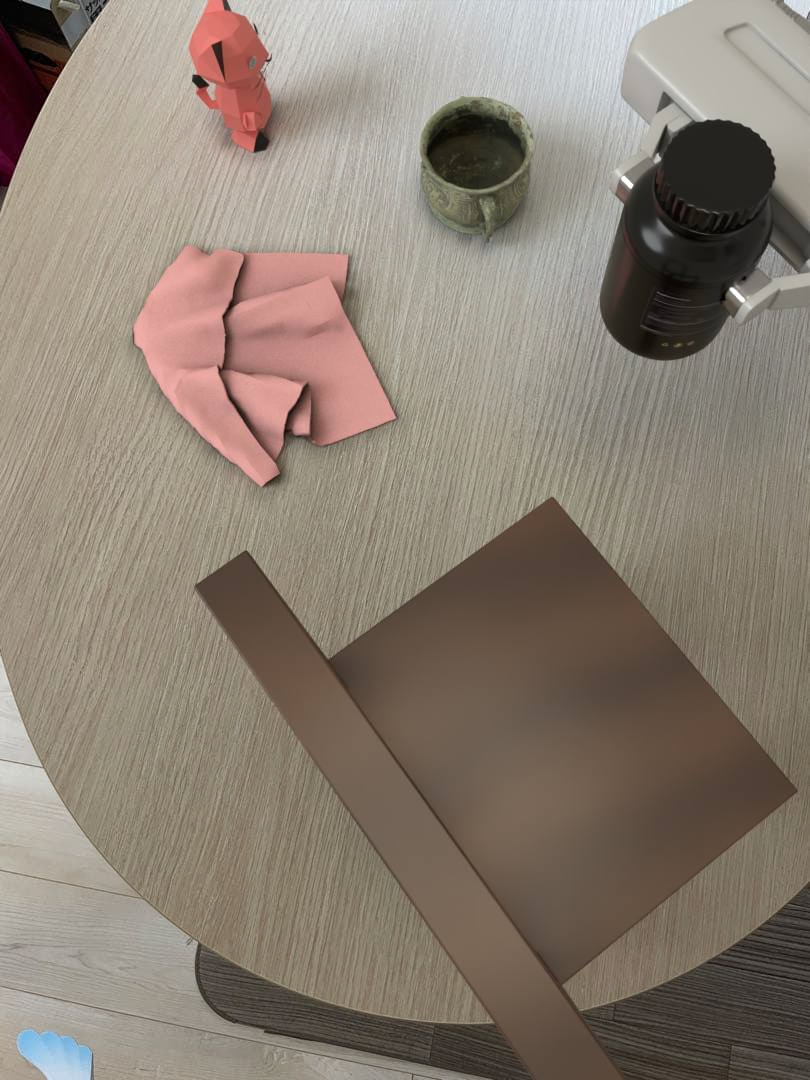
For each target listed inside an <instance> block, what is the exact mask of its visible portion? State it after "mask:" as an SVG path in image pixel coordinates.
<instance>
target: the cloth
mask: <svg viewBox="0 0 810 1080" xmlns="http://www.w3.org/2000/svg"><path fill="white" fill-rule="evenodd" d="M348 264H349V254H339V253H323V252H322V253H319V252H282V251H281V252H238V251H235V250H231V249H226V248H216V250H214V251H213V252H212V253H211V254H208V253H204V252H202V251H201V250H200V249H199V248H197V247H196V246H195V245H185V246H184V248H183V249H182V250H181V252H179V254H178V256H177V258H176V259H175V261H174V262H173V263H171V264H170V265H169V266H167V268H166V270H165V271H164V272H163V273H162V276H161V277H160V279H159V280H158V282H157V283H156V285H155V286H154V287H153V289H152V290H150V292H149V294H148V296H147V298H146V301H145V304H144V306H143V307H142V309H141V310H140V312H139V314H138V316H137V318H136V320H135V322H134V324H133V325H132V328H131V331H132V344H133V346H135V347H137V348H139V349H141V351H142V353H143V356H144V358H145V360H146V363H147V366H148V368H149V371H150V373H151V374H152V376H153V378H154V379H155V381H156V382H157V383H158V384H159V388H160V389H161V392H162V394H163V395H164V396H165V398H167V400H168V401H169V402H170V403H171V405H172V406H173V407H174V409H175V410H176V412H177V413H178V414H179V415H180V416H181V417H182V419H184V421H186V422H188V423H189V424H190V426H191V427H192V428H193V429H194V430H195V432H196V433H197V434H198V435H199V436H200V437H201V438H202V439H203V440H204V441H205V442H206V443H209V444H210V445H212V446H213V448H214V449H215V450H216V451H217V452H218V453H219V454H220V455H221V456H222V457H223V458H225V459H226V460H227V461H228V462H229V463H231V464H233V465H235V466H237V467H238V468H240V469H241V470H242V471H243V472H244V473H245V474H246V475H247V476H248V477H249V478H250V479H251V480H253V481H254V482H255V483H256V484H257V485H258V486H259V487H260V488H262V487H263V486H264V485H265V484H267V483H268V482H269V481H271V480H272V479H273V478H275V477H277V476H278V475H280V474H281V472H280V470H279V468H278V466H277V464H276V463H277V460H278V458H279V456H280V454H281V452H282V451H283V447H284V445H285V431H291V432H292V434H293V435H294V436H295V437H297V436H301V437H303V439H305V440H306V441H307V442H309V443H312V444H313V445H316V446H318V447H324V446H329V445H332V444H334V443H337V442H340V441H343V440H346V439H348V438H350V437H353V436H356V435H359V434H361V433H363V432H366V431H369V430H372V429H374V428H377V427H380V426H381V425H384V424H386V423H389V422H392V421H394V420H397V417H396V415H395V413H394V410H393V408H392V406H391V403H390V402H389V399H388V397H387V395H386V393H385V391H384V389H383V387H382V385H381V383H380V381H379V379H378V377H377V374H376V372H375V370H374V368H373V366H372V364H371V362H370V359H369V358H368V356H367V354H366V352H365V350H364V347H363V345H362V343H361V340H359V337H358V336H357V333H356V332H355V330H354V328H353V326H352V324H351V322H350V320H349V319H348V317H347V314H346V313H345V310H344V307H343V299H344V295H345V290H346V284H347V283H346V282H347V275H348V266H349V265H348Z"/></svg>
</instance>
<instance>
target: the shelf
mask: <svg viewBox="0 0 810 1080" xmlns="http://www.w3.org/2000/svg"><path fill="white" fill-rule="evenodd" d="M193 588H194V590H195V592H196V594H197V595H198V596H199V597H200V599H201V601H202V602H203V604H204V605H205V606H206V608H207V609H208V611H209V612H210V614H211V615H212V617H213V618H214V619H215V621H216V622H217V624H218V625H219V627H220V628H221V630H222V631H223V632H224V634H225V635H226V637H227V639H228V640H229V641H230V642H231V644H232V645H233V647H234V648H235V650H236V651H237V653H238V654H239V656H240V657H241V659H242V660H243V661H244V663H245V664H246V666H247V667H248V669H249V670H250V671H251V673H252V675H253V676H254V677H255V679H256V680H257V682H258V683H259V685H260V686H261V687H262V689H263V690H264V692H265V693H266V695H267V696H268V698H269V699H270V701H271V702H272V703H273V705H274V707H276V710H278V712H279V714H280V716H282V718H283V719H284V721H285V722H286V724H287V725H288V727H289V728H290V730H291V731H292V733H293V734H294V735H295V737H296V739H298V741H299V743H300V744H301V745H302V747H303V749H305V751H306V752H307V753H306V754H308V756H309V757H310V758H311V760H312V762H313V763H314V764H315V766H316V767H317V768H318V770H319V772H320V773H321V774H322V776H323V778H324V779H325V780H326V781H327V784H328V785H329V787H331V789H332V791H333V792H334V793H335V795H336V796H337V798H338V799H339V801H340V802H341V803H342V805H343V806H344V808H345V809H346V810H347V812H348V814H349V815H350V816H351V818H352V819H353V821H354V822H355V824H356V825H357V827H358V828H359V829H360V830H361V832H362V834H363V835H364V837H365V838H366V840H367V841H368V842H369V844H370V845H371V847H372V848H373V849H374V851H375V852H376V854H377V855H378V857H379V858H380V860H381V861H382V863H383V864H384V866H385V867H386V868H387V870H388V872H389V873H390V874H391V876H392V877H393V879H394V880H395V882H396V883H397V885H398V886H399V888H400V889H401V890H402V892H403V893H404V895H405V896H406V897H407V899H408V900H409V901H410V903H411V905H412V906H413V908H414V909H415V911H416V912H417V913H418V915H419V916H420V918H421V920H422V921H423V922H424V923H425V925H426V927H427V928H428V930H429V931H430V932H431V933H432V935H433V936H434V938H435V940H436V941H437V942H438V944H439V945H440V947H441V948H442V949H443V951H444V953H445V954H446V955H447V957H448V958H449V959H450V962H452V964H453V966H454V967H455V969H456V970H457V971H458V973H459V974H460V975H461V977H462V979H463V980H464V982H465V983H466V984H467V986H468V987H469V989H470V990H471V991H472V993H473V995H474V996H475V997H476V999H477V1000H478V1002H479V1003H480V1004H481V1006H482V1008H483V1009H484V1010H485V1012H486V1014H487V1015H488V1016H489V1018H490V1019H491V1021H492V1022H493V1024H494V1025H495V1026H496V1028H497V1029H498V1030H499V1032H500V1034H501V1035H502V1036H503V1038H504V1039H505V1041H506V1042H507V1044H508V1045H509V1046H510V1048H511V1050H512V1051H513V1052H514V1054H515V1055H516V1057H517V1058H518V1060H519V1061H520V1063H521V1064H522V1065H523V1067H524V1069H525V1070H526V1072H528V1074H529V1076H530V1077H531V1079H532V1080H629V1079H628V1078H627V1076H626V1075H625V1073H624V1072H623V1071H622V1069H621V1068H620V1066H619V1065H618V1063H617V1062H616V1061H615V1059H614V1058H613V1056H612V1055H611V1053H610V1052H609V1050H608V1049H607V1047H606V1046H605V1045H604V1043H603V1042H602V1040H601V1039H600V1037H599V1036H598V1035H597V1034H596V1032H595V1030H594V1029H593V1027H592V1026H591V1025H590V1023H589V1022H588V1020H587V1019H586V1018H585V1016H584V1015H583V1013H582V1012H581V1010H580V1009H579V1007H578V1006H577V1005H576V1003H575V1001H574V1000H573V999H572V997H571V996H570V994H568V991H567V990H566V989H565V988H564V986H563V985H564V984H566V983H567V982H568V981H570V979H572V978H573V977H574V976H575V975H577V974H578V973H580V971H582V969H583V968H585V967H587V966H588V965H589V964H590V963H592V962H593V961H594V960H595V959H596V958H598V957H599V956H600V955H601V954H602V953H603V952H605V951H606V950H607V949H608V948H609V947H611V946H612V945H613V944H614V943H616V942H617V941H618V940H619V939H620V938H622V937H623V936H624V935H625V934H627V933H628V932H629V931H630V930H632V928H634V927H635V926H636V925H638V924H639V923H640V922H641V921H642V920H644V919H645V918H646V917H648V916H649V915H650V914H651V913H652V912H653V911H654V910H656V909H658V907H660V906H661V905H662V904H663V903H664V902H666V901H667V900H668V899H669V898H670V897H671V896H673V895H674V894H675V893H677V892H678V891H679V890H680V889H681V888H682V887H684V886H685V885H686V884H687V883H689V881H692V879H693V878H695V877H696V876H697V875H699V874H700V873H701V872H702V871H703V870H705V869H706V867H708V866H709V865H711V864H712V863H713V862H714V861H716V860H717V859H718V858H719V857H720V856H721V855H723V854H724V853H725V852H726V851H728V850H729V849H730V848H731V847H732V846H733V845H735V844H736V843H737V842H738V841H740V840H741V839H742V838H744V836H746V835H747V834H749V833H750V832H751V831H752V830H753V829H754V828H756V827H757V826H758V825H759V824H760V823H761V822H763V821H764V820H765V819H767V818H768V817H769V816H770V815H772V813H774V812H775V811H776V810H778V809H779V808H780V807H781V806H782V805H783V804H785V803H786V802H787V801H788V800H790V799H791V798H792V797H793V796H795V795H796V794H797V793H798V789H797V787H795V785H794V784H793V783H792V782H791V780H790V779H789V778H788V777H787V776H786V774H785V773H784V772H783V770H781V768H780V767H779V765H777V764H776V762H775V761H774V760H773V759H772V758H771V756H770V755H769V754H768V753H767V752H766V750H765V749H764V748H763V747H762V746H761V745H760V743H759V742H758V741H757V739H756V738H755V737H754V736H753V734H751V732H750V731H749V730H748V728H746V726H745V725H744V724H743V723H742V721H740V719H739V718H738V717H737V715H736V714H735V713H734V712H733V711H732V710H731V708H730V707H729V706H728V705H727V704H726V702H725V701H724V700H723V699H722V697H721V696H720V695H719V694H718V693H717V691H716V690H715V689H714V688H713V687H712V685H711V684H710V683H709V682H708V681H707V680H706V678H705V677H704V676H703V675H702V674H701V672H700V671H699V670H698V669H697V667H696V666H695V665H694V664H693V663H692V661H691V660H690V659H689V658H688V657H687V655H686V654H685V653H684V652H683V651H682V649H681V648H680V647H679V646H678V645H677V644H676V642H675V641H674V640H673V639H672V637H671V636H670V635H669V634H668V633H667V632H666V630H665V629H664V628H663V627H662V626H661V624H660V623H659V622H658V621H657V619H656V618H655V617H654V616H653V615H652V614H651V612H650V611H649V609H647V607H646V606H645V605H644V604H643V603H642V601H641V599H639V598H638V596H637V595H635V593H634V591H632V590H631V588H630V587H629V586H628V585H627V583H626V582H625V581H624V580H623V579H622V577H621V576H620V575H619V574H618V573H617V571H616V570H615V569H614V568H613V567H612V566H611V564H610V563H609V562H608V561H607V559H606V558H605V557H604V556H603V555H602V553H601V552H600V551H599V550H598V549H597V548H596V546H595V545H594V544H593V542H592V541H591V540H590V539H589V537H588V536H587V535H586V534H585V533H584V532H583V531H582V530H581V528H580V527H579V526H578V525H577V523H576V522H575V521H574V520H573V519H572V517H571V516H570V515H569V514H568V513H567V511H566V510H565V509H564V507H562V505H561V504H560V503H559V502H558V500H557V499H556V498H555V497H554V496H550V497H549V498H547V499H546V500H545V501H543V502H542V503H541V504H539V505H537V506H536V507H535V508H534V509H532V510H531V511H530V512H528V513H526V514H525V515H524V516H523V517H521V518H520V519H519V520H517V521H516V522H514V523H513V524H511V525H510V526H508V527H507V528H506V529H505V530H504V531H502V532H501V533H499V534H498V535H497V536H495V537H494V538H492V539H491V540H490V541H488V542H487V543H486V544H484V545H483V546H481V547H480V548H479V549H477V550H476V551H474V552H473V553H472V554H470V556H467V557H466V558H465V559H464V560H462V561H461V562H460V563H458V564H457V565H455V566H454V567H453V568H451V569H450V570H449V571H447V572H446V573H444V574H443V575H442V576H440V577H439V578H438V579H436V580H435V581H434V582H433V583H431V584H429V585H428V586H427V587H425V588H424V589H423V590H421V591H420V592H418V593H417V594H416V595H415V596H413V597H412V598H410V599H409V600H407V601H406V602H405V603H404V604H402V605H401V606H400V607H398V608H397V609H395V610H394V611H392V612H391V613H390V614H388V615H387V616H386V617H385V618H383V619H382V620H380V621H379V622H378V623H376V624H374V625H373V626H372V627H370V628H369V629H368V630H366V631H365V632H363V633H362V634H361V635H360V636H358V637H357V638H356V639H354V640H352V641H351V642H350V643H349V644H347V645H346V646H345V647H343V648H342V649H340V650H339V651H337V653H335V654H334V655H332V656H331V657H329V658H328V657H327V656H326V654H325V653H324V652H323V651H322V649H321V648H320V646H319V645H318V644H317V642H316V641H315V639H314V638H313V637H312V636H311V634H310V633H309V631H308V630H307V629H306V628H305V626H304V625H303V623H302V622H301V620H300V619H299V618H298V616H297V615H296V614H295V612H294V611H293V610H292V609H291V607H290V606H289V605H288V603H287V602H286V601H285V599H284V598H283V597H282V595H281V593H280V592H279V591H278V590H277V588H276V587H275V586H274V584H273V582H272V581H271V580H270V579H269V578H268V576H267V575H266V573H265V572H264V571H263V570H262V568H261V567H260V565H259V564H258V563H257V561H256V560H255V558H254V557H253V556H252V554H251V553H250V551H248V550H243V551H242V552H240V553H239V554H237V555H236V556H235V557H233V558H232V559H230V560H229V561H227V562H226V563H224V564H223V565H222V566H220V567H219V568H217V569H215V570H214V571H213V572H212V573H210V574H209V575H207V576H206V577H205V578H204V579H201V580H200V581H199V582H197V583H196V584H195V585H194V586H193Z"/></svg>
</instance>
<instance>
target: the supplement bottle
mask: <svg viewBox="0 0 810 1080" xmlns="http://www.w3.org/2000/svg"><path fill="white" fill-rule="evenodd" d="M774 162H775V158H774V157H773V155H772V151H771V149H770V148H769V147H768V146H767V143H766V141H765V140H764V139H762V138H761V137H760V135H759V134H758V133H756V132H754V131H752V129H751V128H750V127H746V126H743V125H742V124H741V123H734V122H732V121H730V120H721V119H716V120H708V119H707V120H705V121H703V122H696V123H695V124H693V125H689V126H687V127H686V128H685V129H684V130H681V131H679V132H678V134H677V136H675V137H673V138H672V139H671V141H670V143H669V145H668V146H667V147H666V148H665V150H664V153H663V156H662V158H660V160H659V161H658V162H656V163H655V164H654V165H653V166H651V167H650V168H648V169H647V170H646V171H645V172H644V173H643V174H642V175H641V176H640V177H639V178H638V179H637V180H636V182H635V183H634V184H633V186H632V188H631V189H630V191H629V193H628V196H627V198H626V201H625V204H623V207H622V211H621V214H620V217H619V222H618V225H617V228H616V231H615V236H614V239H613V243H612V246H611V250H610V254H609V257H608V261H607V264H606V268H605V271H604V274H603V275H604V276H603V277H602V278H603V279H602V283H601V286H600V287H601V288H600V292H599V312H600V315H601V319H602V321H603V324H604V326H605V328H606V330H607V331H608V333H609V334H610V336H611V337H612V338H613V339H614V340H615V341H616V343H617V344H619V345H620V346H621V347H623V348H625V350H627V351H629V352H630V353H632V354H634V355H636V356H639V357H641V358H644V359H648V360H652V361H653V360H654V361H661V362H662V361H664V362H665V361H666V362H668V361H676V360H682V359H685V358H686V359H687V358H689V357H691V356H693V355H696V354H697V353H699V352H700V351H702V350H703V349H705V348H707V347H708V346H710V344H711V343H712V342H713V341H714V340H715V339H716V337H717V336H719V334H720V332H721V330H722V329H723V327H724V326H725V324H726V322H727V320H728V319H729V317H730V316H731V315H730V314H729V313H728V312H727V311H726V310H725V309H724V308H723V307H722V306H721V301H722V300H723V299H725V294H726V292H727V291H728V290H729V289H730V287H731V286H733V285H735V284H736V283H738V282H739V281H741V280H745V278H746V276H747V275H749V274H750V273H751V272H752V271H753V270H754V269H756V268H757V267H758V265H759V263H760V261H761V259H762V257H763V256H764V254H765V252H766V250H767V248H768V246H769V244H768V243H769V241H770V238H771V234H772V229H773V211H772V206H771V202H770V199H769V194H770V192H771V190H772V185H773V183H774V181H775V178H776V177H775V171H776V166H775V164H774Z"/></svg>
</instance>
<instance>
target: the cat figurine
mask: <svg viewBox="0 0 810 1080" xmlns="http://www.w3.org/2000/svg"><path fill="white" fill-rule="evenodd" d="M252 25H253V26H252ZM262 26H263V28H265V26H264V25H262ZM262 32H263V34H264V35H266V32H265V30H262ZM259 35H260V34H259V30H258V27H257V26H256V23H255V22H253V23H252V24H251V22H250V21H249V19H248V18H247V16H246V15H243V14H240V13H237V12H235V11H233V10H232V8H231V6H230V3H229V1H228V0H208V1H207V3H206V5H205V8H204V9H203V13H202V15H201V16H200V18H199V21H198V23H197V24H196V26H195V28H194V30H193V33H192V34H191V38H190V41H189V45H188V51H189V54H190V57H191V60H192V63H193V66H194V69H195V71H196V74H192V75H191V83H193V84H194V86H196V87H195V94H196V96H197V97H198V98H199V99H200V100H201V101H202V102H203V103H204V104H205V106H207V107H208V109H209V110H215V111H216V110H217V111H220V114H221V116H222V119H223V121H224V122H223V123H224V124H225V127H226V128H227V129H231V130H233V132H232V133H231V135H230V139H231V140H232V141H233V142H234V143H235V144H236V145H237V146H238V147H239V148H242V149H245V150H247V151H249V152H251V153H254V154H255V153H257V152H258V153H259V152H261V151H266V150H267V148H268V147H269V144H270V142H271V140H270V139H268V137H267V136H266V134H264V132H262V131H261V130H260V129H264V128H265V127H266V124H267V122H268V120H269V118H270V116H271V114H273V103H272V96H271V93H270V90H269V88H268V86H267V83H266V81H267V79H266V76H267V71H266V70H267V67H268V65H269V64H270V62H272V59H273V52H271V53H270V54H269V52H268V49H266V47H267V48H268V46H266V47H265V45H264V44H263V41H262V40H261V38H260V37H259ZM266 44H268V43H267V41H266ZM268 58H269V59H268ZM266 63H267V64H266ZM265 64H266V66H265ZM264 66H265V67H264ZM262 69H263V70H262ZM208 82H209V83H208ZM210 83H212V84H214V85H215V86H214V87H215V88H214V94H213V95H214V98H215V99H212V97H211V96H210V95H209V92H208V91H207V89H208V88H209V87H210V86H211V85H210Z"/></svg>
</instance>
